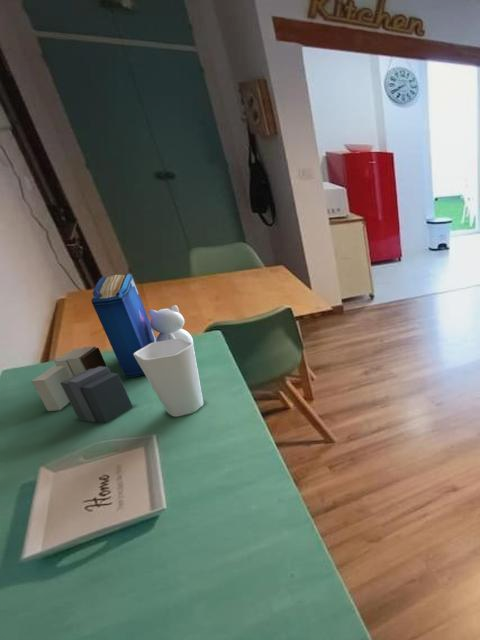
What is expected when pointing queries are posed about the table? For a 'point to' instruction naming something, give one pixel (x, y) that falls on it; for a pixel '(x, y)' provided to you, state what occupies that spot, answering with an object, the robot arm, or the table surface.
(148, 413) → the table surface
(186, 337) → the cat figurine
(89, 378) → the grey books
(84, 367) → the grey brown block
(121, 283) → the book
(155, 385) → the cup
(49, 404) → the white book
